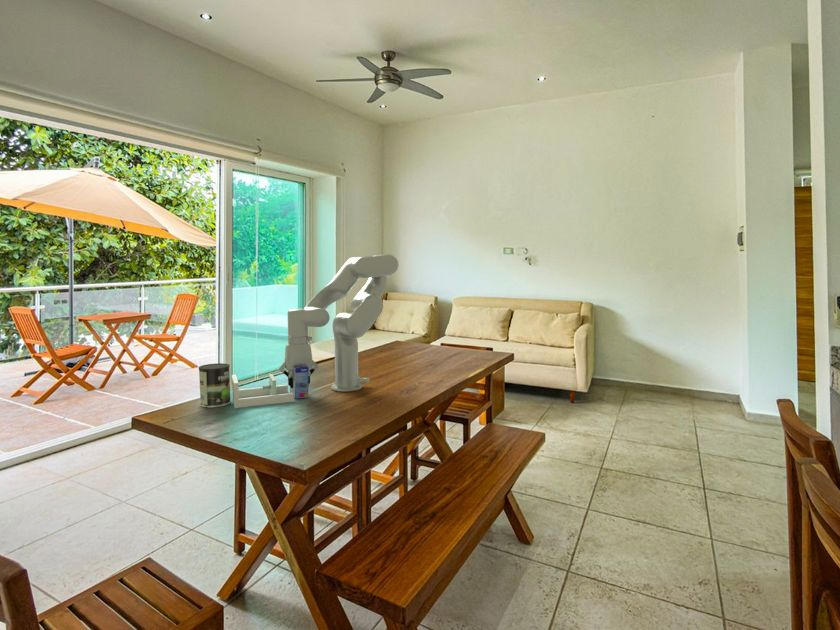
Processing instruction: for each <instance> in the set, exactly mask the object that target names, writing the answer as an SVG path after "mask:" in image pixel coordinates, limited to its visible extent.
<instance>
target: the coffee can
mask: <svg viewBox="0 0 840 630" xmlns="http://www.w3.org/2000/svg"><path fill="white" fill-rule="evenodd" d="M198 372H199V373H198V374H199V375H198V376H199V379H198V380H199V392H200V393H199V397H200V405H199V406H200V407H202V408H206V407H207V409H208V408H209V409H210V408H221V407H225V406H228V405H230V404H231V383H230V381H231V379H230V378H231V377H230V364H228V363H222V362H221V363H220V362H219V363H207V364H203V365H200V366H198Z"/></svg>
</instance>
